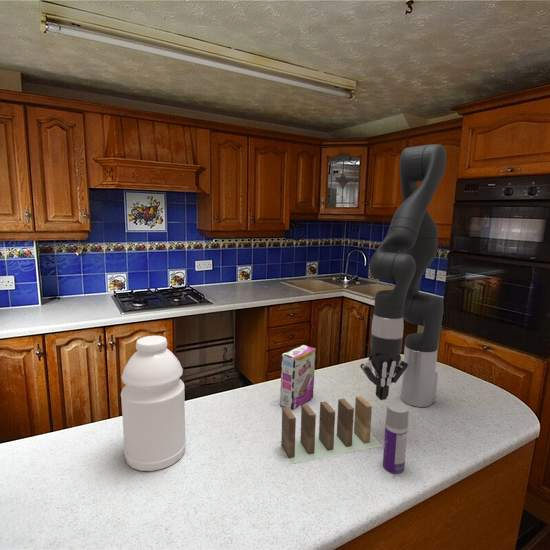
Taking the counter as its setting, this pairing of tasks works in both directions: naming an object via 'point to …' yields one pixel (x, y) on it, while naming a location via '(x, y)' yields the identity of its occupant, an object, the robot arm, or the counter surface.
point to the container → (395, 438)
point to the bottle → (153, 406)
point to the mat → (322, 452)
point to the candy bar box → (297, 376)
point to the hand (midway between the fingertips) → (381, 398)
